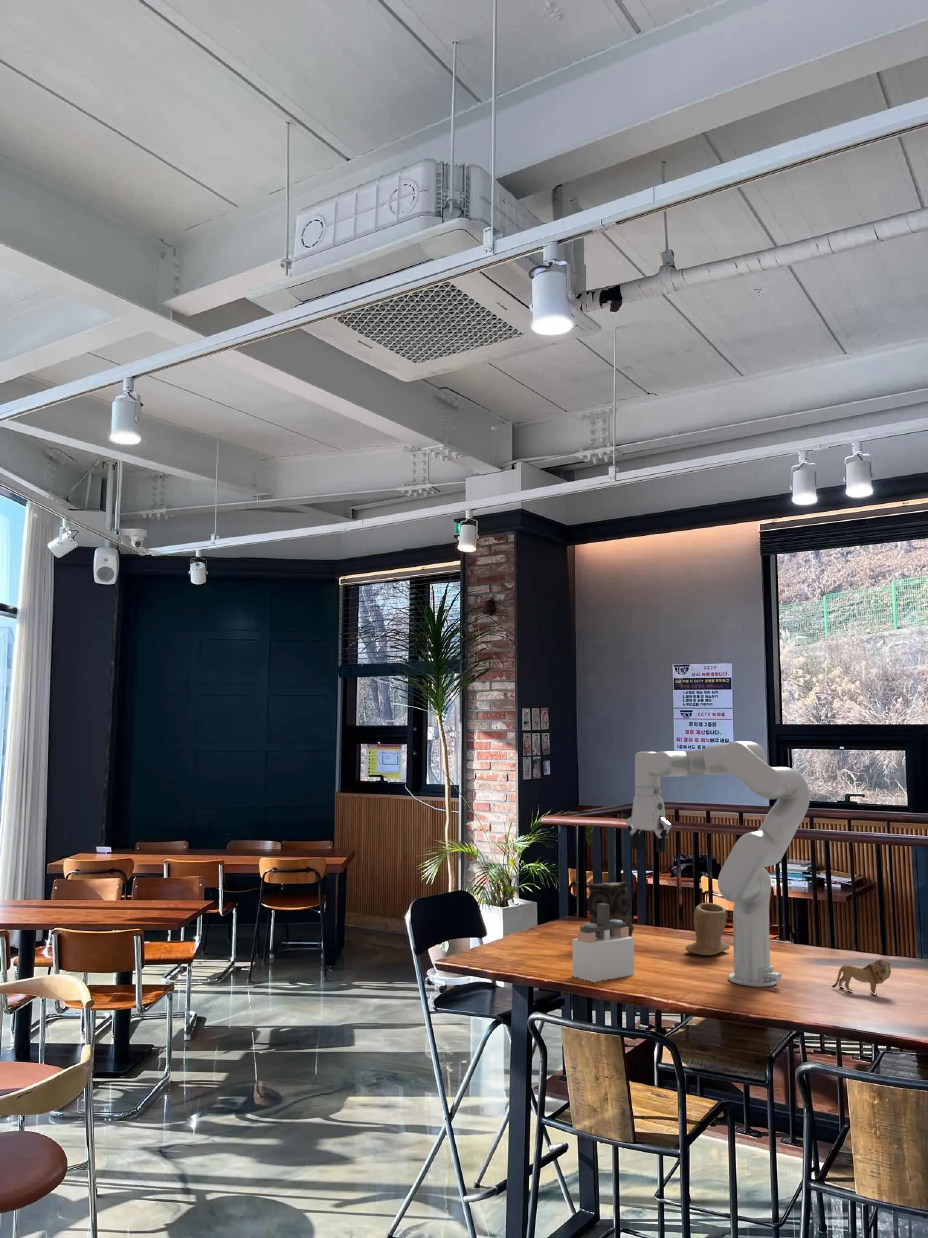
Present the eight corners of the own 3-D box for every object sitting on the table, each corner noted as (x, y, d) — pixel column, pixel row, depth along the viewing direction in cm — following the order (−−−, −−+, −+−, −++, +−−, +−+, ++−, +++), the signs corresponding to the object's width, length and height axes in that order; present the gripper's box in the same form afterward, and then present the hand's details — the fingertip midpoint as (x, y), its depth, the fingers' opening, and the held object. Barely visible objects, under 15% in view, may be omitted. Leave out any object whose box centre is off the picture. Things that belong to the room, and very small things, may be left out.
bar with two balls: (626, 934, 264) (626, 902, 266) (588, 940, 256) (588, 907, 257) (617, 932, 267) (617, 900, 268) (579, 938, 258) (579, 905, 260)
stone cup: (714, 960, 280) (713, 909, 282) (680, 954, 289) (679, 903, 291) (740, 953, 291) (739, 903, 293) (706, 947, 299) (705, 898, 301)
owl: (635, 945, 299) (634, 881, 302) (616, 952, 289) (616, 886, 292) (599, 940, 307) (599, 877, 309) (580, 946, 297) (580, 882, 299)
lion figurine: (891, 993, 246) (890, 958, 247) (892, 998, 241) (891, 962, 242) (831, 987, 252) (830, 952, 253) (831, 992, 247) (830, 956, 248)
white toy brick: (634, 975, 262) (633, 928, 263) (592, 982, 252) (592, 934, 254) (613, 969, 268) (613, 924, 270) (572, 976, 259) (572, 929, 260)
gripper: (678, 793, 280) (679, 852, 278) (635, 790, 294) (635, 846, 291) (661, 794, 275) (661, 854, 273) (618, 791, 289) (618, 848, 287)
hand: (648, 850), depth 282 cm, fingers open, 9 cm apart
